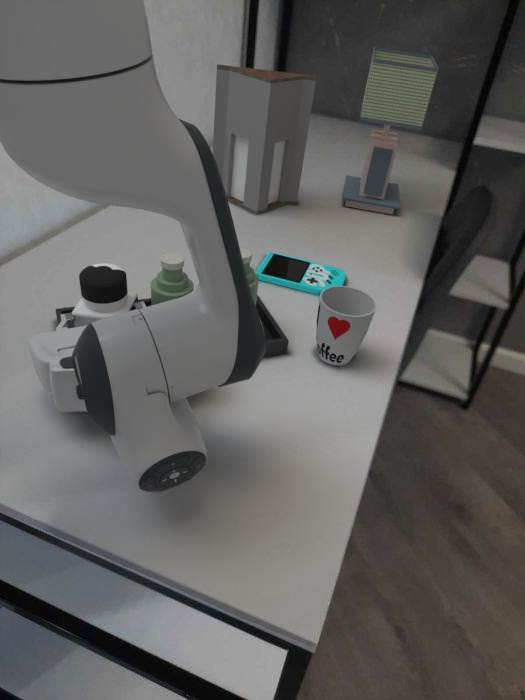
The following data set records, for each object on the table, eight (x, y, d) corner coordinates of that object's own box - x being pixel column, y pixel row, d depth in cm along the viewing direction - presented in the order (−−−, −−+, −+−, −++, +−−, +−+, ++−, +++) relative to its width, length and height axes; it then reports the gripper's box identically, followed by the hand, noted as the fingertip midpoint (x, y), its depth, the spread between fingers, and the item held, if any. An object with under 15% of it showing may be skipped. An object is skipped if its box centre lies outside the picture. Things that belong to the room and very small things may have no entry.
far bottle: (222, 340, 79) (228, 264, 71) (210, 318, 84) (214, 244, 76) (258, 335, 81) (268, 260, 73) (245, 313, 86) (253, 241, 78)
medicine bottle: (127, 361, 73) (121, 287, 66) (76, 354, 73) (65, 280, 66) (140, 331, 79) (136, 261, 71) (93, 326, 79) (84, 254, 71)
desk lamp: (397, 218, 126) (440, 68, 106) (340, 208, 127) (371, 58, 108) (395, 192, 141) (433, 56, 121) (344, 183, 142) (372, 46, 122)
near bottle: (156, 350, 76) (155, 271, 68) (148, 326, 80) (145, 249, 72) (196, 344, 78) (199, 266, 70) (186, 321, 82) (188, 246, 74)
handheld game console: (337, 300, 93) (339, 293, 92) (253, 279, 96) (253, 272, 95) (346, 275, 101) (348, 269, 100) (268, 256, 104) (269, 250, 103)
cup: (297, 348, 80) (308, 293, 74) (335, 333, 85) (348, 280, 79) (333, 378, 76) (348, 322, 70) (371, 361, 80) (388, 307, 74)
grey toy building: (296, 202, 128) (315, 75, 111) (299, 218, 120) (320, 85, 103) (210, 194, 126) (217, 64, 109) (208, 210, 118) (215, 73, 101)
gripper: (214, 337, 64) (176, 280, 73) (35, 372, 55) (19, 304, 65) (211, 375, 67) (176, 317, 77) (44, 414, 59) (27, 344, 68)
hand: (103, 311), depth 71 cm, fingers open, 8 cm apart
